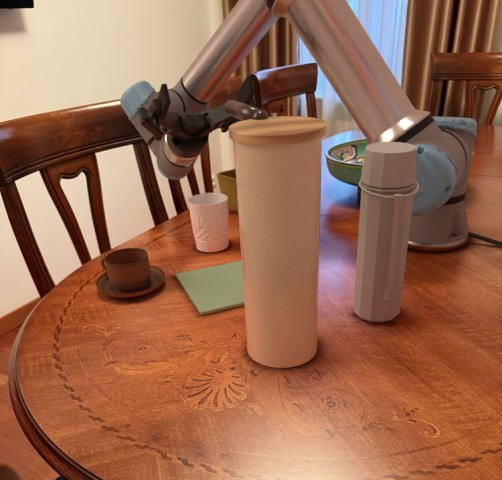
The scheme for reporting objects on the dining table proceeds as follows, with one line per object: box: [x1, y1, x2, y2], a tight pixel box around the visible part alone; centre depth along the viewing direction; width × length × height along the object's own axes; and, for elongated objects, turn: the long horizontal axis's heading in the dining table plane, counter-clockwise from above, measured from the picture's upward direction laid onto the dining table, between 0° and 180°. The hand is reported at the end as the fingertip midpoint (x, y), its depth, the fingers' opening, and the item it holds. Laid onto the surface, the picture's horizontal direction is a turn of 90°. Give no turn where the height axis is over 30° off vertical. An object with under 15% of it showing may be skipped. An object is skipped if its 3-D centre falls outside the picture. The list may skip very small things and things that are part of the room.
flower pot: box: [216, 167, 238, 213], centre depth 123 cm, size 9×9×9 cm
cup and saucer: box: [95, 247, 165, 299], centre depth 91 cm, size 12×12×6 cm
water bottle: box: [353, 142, 419, 323], centre depth 73 cm, size 9×8×25 cm
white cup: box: [187, 192, 230, 253], centre depth 105 cm, size 8×8×10 cm
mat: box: [174, 260, 244, 316], centre depth 92 cm, size 16×16×1 cm
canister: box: [233, 137, 323, 369], centre depth 66 cm, size 10×10×29 cm
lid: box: [224, 99, 328, 145], centre depth 62 cm, size 22×11×2 cm, turn 22°
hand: (209, 88), depth 79 cm, fingers open, 13 cm apart
